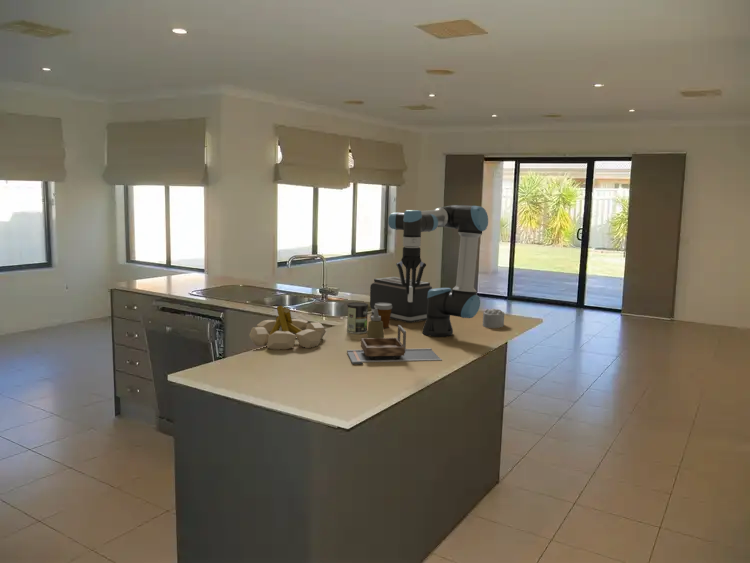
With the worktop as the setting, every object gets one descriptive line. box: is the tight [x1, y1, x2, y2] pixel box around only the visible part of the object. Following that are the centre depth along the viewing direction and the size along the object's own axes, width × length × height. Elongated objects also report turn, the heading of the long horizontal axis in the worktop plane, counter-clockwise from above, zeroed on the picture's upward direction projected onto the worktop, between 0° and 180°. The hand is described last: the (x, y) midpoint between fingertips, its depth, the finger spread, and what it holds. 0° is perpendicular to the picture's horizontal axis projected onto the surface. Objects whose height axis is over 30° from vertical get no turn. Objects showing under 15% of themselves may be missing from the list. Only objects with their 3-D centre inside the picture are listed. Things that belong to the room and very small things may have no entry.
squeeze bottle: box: [366, 308, 385, 338], centre depth 284 cm, size 8×8×18 cm
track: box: [346, 347, 443, 365], centre depth 268 cm, size 38×18×1 cm, turn 100°
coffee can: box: [346, 301, 369, 335], centre depth 313 cm, size 10×10×14 cm
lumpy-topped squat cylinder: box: [482, 308, 505, 329], centre depth 335 cm, size 10×13×9 cm
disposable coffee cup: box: [374, 303, 392, 329], centre depth 326 cm, size 10×10×12 cm
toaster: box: [369, 276, 433, 324], centre depth 353 cm, size 19×35×20 cm, turn 44°
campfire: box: [248, 305, 327, 350], centre depth 291 cm, size 35×34×17 cm
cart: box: [360, 324, 407, 360], centre depth 266 cm, size 17×16×12 cm
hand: (410, 301), depth 268 cm, fingers closed
